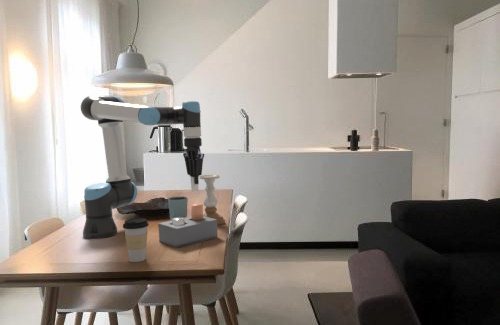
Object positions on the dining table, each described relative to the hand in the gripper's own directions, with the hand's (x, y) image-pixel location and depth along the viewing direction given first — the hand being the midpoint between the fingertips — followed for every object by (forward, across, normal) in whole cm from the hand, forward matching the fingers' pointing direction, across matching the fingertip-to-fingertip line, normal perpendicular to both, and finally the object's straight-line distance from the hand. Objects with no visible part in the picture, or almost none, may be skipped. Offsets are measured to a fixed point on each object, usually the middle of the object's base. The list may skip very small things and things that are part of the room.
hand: (195, 191), depth 187 cm
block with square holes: (+21, 0, +4) cm, 21 cm away
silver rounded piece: (+18, 0, +9) cm, 20 cm away
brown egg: (+13, 0, -1) cm, 13 cm away
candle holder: (+21, +17, -20) cm, 34 cm away
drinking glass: (+21, +34, -12) cm, 41 cm away
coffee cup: (+21, -8, +33) cm, 40 cm away
